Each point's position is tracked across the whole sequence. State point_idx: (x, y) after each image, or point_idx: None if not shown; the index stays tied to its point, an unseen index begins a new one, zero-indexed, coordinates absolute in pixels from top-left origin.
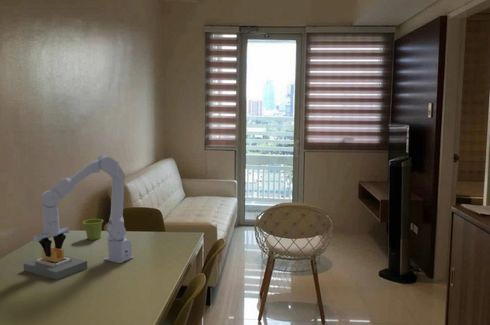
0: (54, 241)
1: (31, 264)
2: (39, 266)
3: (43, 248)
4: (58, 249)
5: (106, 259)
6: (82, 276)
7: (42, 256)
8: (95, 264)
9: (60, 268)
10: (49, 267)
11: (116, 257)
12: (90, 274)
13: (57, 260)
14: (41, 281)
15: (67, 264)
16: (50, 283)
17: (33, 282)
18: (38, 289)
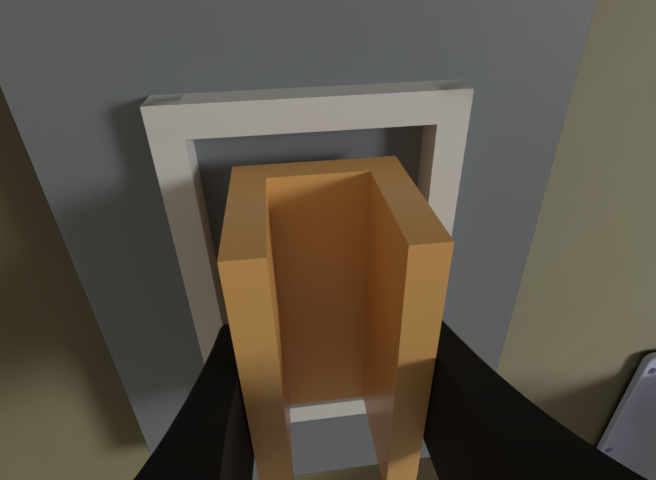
0: (498, 457)
1: (52, 133)
2: (114, 288)
3: (168, 444)
4: (388, 449)
5: (636, 380)
6: (324, 472)
7: (230, 195)
8: (537, 378)
9: None
10: (183, 382)
11: (639, 456)
12: (372, 475)
13: (296, 393)
14: (77, 385)
15: (336, 422)
16: (116, 446)
17: (11, 362)
18: (7, 473)
